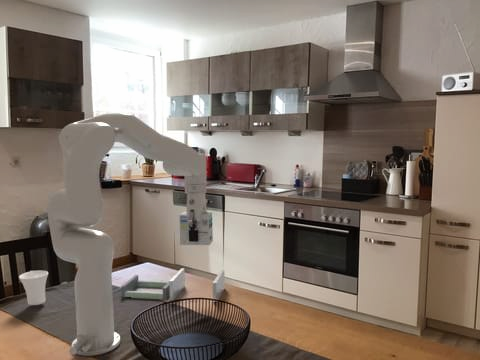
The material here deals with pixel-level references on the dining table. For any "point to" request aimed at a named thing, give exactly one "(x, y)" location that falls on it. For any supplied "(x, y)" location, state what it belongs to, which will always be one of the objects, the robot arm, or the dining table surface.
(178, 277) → the white holder
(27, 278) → the cup
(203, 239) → the light bulb box
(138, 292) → the tray
